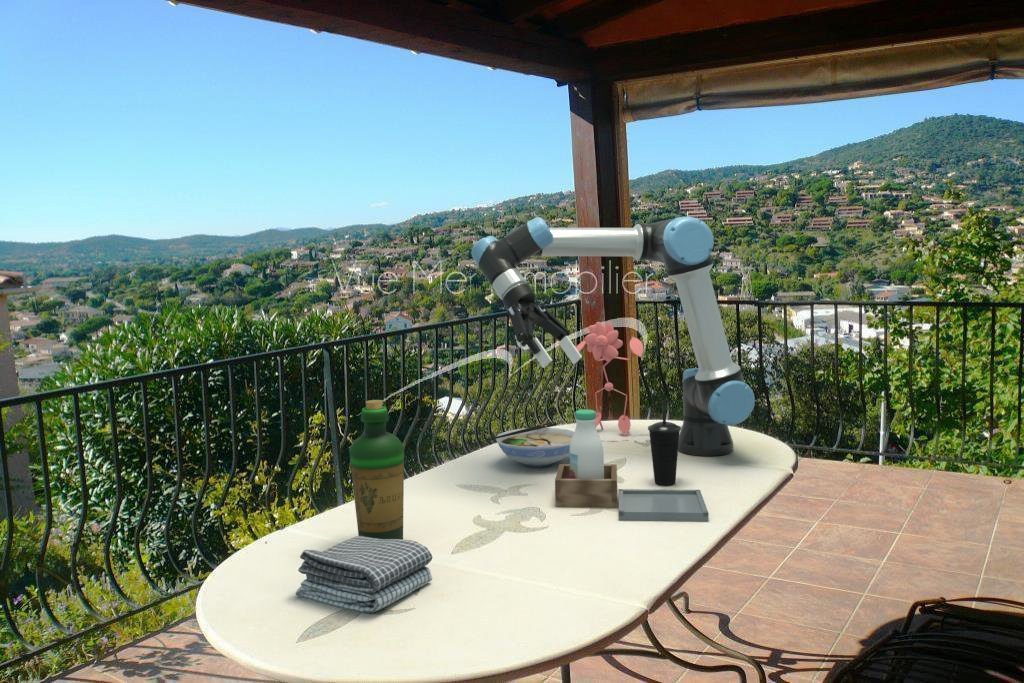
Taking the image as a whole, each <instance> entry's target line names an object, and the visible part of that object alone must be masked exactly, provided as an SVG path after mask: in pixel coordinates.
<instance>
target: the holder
mask: <svg viewBox="0 0 1024 683" xmlns="http://www.w3.org/2000/svg"><path fill="white" fill-rule="evenodd" d="M617 466H618V465H617V464H614V463H613V464H605V463H604V479H570V463H568V464H567V463H566V464H565V463H559V465H558V468H557V471H556V476H555V478H554V493H555V494H554V496H555V508H602V509H603V508H606V509H608V508H609V509H610V508H613V509H614V508H617V509H618V467H617Z"/></svg>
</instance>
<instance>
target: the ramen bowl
mask: <svg viewBox="0 0 1024 683" xmlns="http://www.w3.org/2000/svg"><path fill="white" fill-rule="evenodd" d="M555 426H557V422H552V421H549V422H545V423H542V424H537V425H534V426H531V427H526V428H525V427H524V428H518V429H512V430H507V431H505V432H500V433H499V434H497V435H496V436H495V437H491V438H486V441H491V440H495V441H496V442H497V444H498V446H499V448H500V450H501V451H502V452H503V454H504V455H505V456H507V457H508V458H509V459H511V460H513V461H516V462H518V463H521V464H524V465H525V466H528V467H533V468H534V467H535V468H541V467H547V466H551V465H553V464H554V463H557V462H559V461H561V460H563V459H565V458H567V457H568V456H569V454H570V443H571V439H572V437H573V435H574V432H575V430H571V429H566V428H560V427H559V428H557V427H555Z"/></svg>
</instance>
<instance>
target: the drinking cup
mask: <svg viewBox="0 0 1024 683" xmlns="http://www.w3.org/2000/svg"><path fill="white" fill-rule="evenodd" d="M666 407H667V406H666V400H664V399H663V400H662V421H659V422H655V423H653V424H650V425H648V426H647V430H648V431H649V440H650V451H651V461H652V469H653V470H652V471H653V479H654V484H655V485H656V486H658V487H672V486H675V485H676V479H677V466H678V457H679V456H678V453H679V451H678V445H679V434H680V431H681V428H682V426H680V425H679V424H678V425H677V424H676V423H674V422H671V421H667V419H666V415H667V414H666V413H667V412H666V411H667V410H666Z"/></svg>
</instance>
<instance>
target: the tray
mask: <svg viewBox="0 0 1024 683" xmlns="http://www.w3.org/2000/svg"><path fill="white" fill-rule="evenodd" d="M705 502H706V501H705V500H704V497H703V494H702V491H701V489H667V488H666V489H654V488H653V489H651V488H650V489H649V488H647V489H646V488H645V489H644V488H643V489H640V488H639V489H633V488H625V489H624V488H618V521H635V522H636V521H643V522H646V521H647V522H709V510H708V508H707V506H706V503H705Z"/></svg>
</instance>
